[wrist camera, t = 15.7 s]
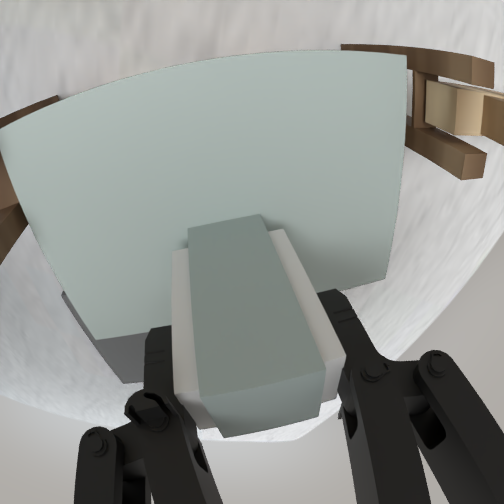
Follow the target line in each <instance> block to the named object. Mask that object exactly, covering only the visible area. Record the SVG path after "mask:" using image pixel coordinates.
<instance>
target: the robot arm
mask: <svg viewBox="0 0 504 504" xmlns="http://www.w3.org/2000/svg"><path fill="white" fill-rule="evenodd" d="M268 233H269V236H270V238H271V240H272V242H273V245H274V247H275V249H276V252H277V254H278V256H279V258H280V261H281V263H282V265H283V268H284V270H285V272H286V275H287V277H288V279H289V281H290V284H291V286H292V288H293V291H294V293H295V295H296V298H297V300H298V302H299V305H300V307H301V309H302V312H303V314H304V317H305V319H306V321H307V324H308V326H309V328H310V331H311V333H312V336H313V338H314V340H315V343H316V345H317V348H318V350H319V352H320V355H321V357H322V360H323V362H324V364H325V367H326V375H325V382H324V388H323V394H322V399H321V403H323V402H327V401H330V400H333V399H336V397H337V393H338V394H339V396H340V399H341V401H342V404H341V407H340V410H339V413H338V419H341V418H342V419H343V425H344V430H345V435H346V440H347V446H348V451H349V457H350V463H351V469H352V475H353V481H354V487H355V493H356V500H357V504H431V500H430V496H429V491H428V487H427V482H426V478H425V473H424V469H423V465H422V461H421V457H420V453H419V449H420V450H421V452H422V454H423V456H424V458H425V459H426V461H427V463H428V465H429V466H430V468H431V470H432V472H433V474H434V476H435V478H436V479H437V481H438V483H439V485H440V486H441V489H442V491H443V492H444V494H445V496H446V498H447V500H448V502H449V504H504V433H503V432H502V430H501V429H500V427H499V425H498V424H497V423H496V421H495V419H494V418H493V416H492V415H491V413H490V412H489V410H488V409H487V407H486V406H485V404H484V403H483V401H482V400H481V398H480V397H479V395H478V394H477V392H476V391H475V390H474V388H473V387H472V386H471V384H470V382H469V381H468V380H467V378H466V377H465V376H464V374H463V373H462V371H461V370H460V369H459V367H458V366H457V365H456V363H455V362H454V361H453V359H452V358H451V357H450V356H449V355H448V354H446V353H444V352H442V351H439V350H431V351H428V352H426V353H425V354H424V355H422V356H421V358H420V360H417V361H392V360H389V359H387V358H385V357H384V356H382V355H381V354H379V353H378V351H377V350H376V349H375V347H374V345H373V343H372V342H371V340H370V338H369V336H368V334H367V332H366V331H365V329H364V327H363V325H362V324H361V322H360V320H359V318H357V315H356V313H355V311H354V309H352V306H351V304H350V302H349V301H348V299H347V297H346V296H345V295H343V294H342V293H341V292H340V291H338V290H337V289H336V288H335V289H331V290H327V291H323V292H319V293H316V292H315V290H314V288H313V286H312V284H311V282H310V280H309V278H308V276H307V274H306V272H305V270H304V268H303V266H302V264H301V262H300V260H299V258H298V256H297V254H296V252H295V250H294V248H293V246H292V245H291V243H290V241H289V239H288V237H287V235H286V233H285V231H284V229H279V230H274V231H269V232H268ZM171 307H172V325H168V326H162V327H156V328H151V329H150V331H149V333H148V335H147V337H146V339H145V352H144V353H145V355H144V364H145V365H144V389H142V390H140V391H137V392H135V393H134V394H133V395H132V396H131V397H130V398H129V399H128V401H127V403H126V405H125V412H124V414H125V415H126V416H127V417H128V418H129V419H130V420H131V422H129V423H128V424H125V425H123V426H121V427H118V428H116V429H113V430H111V431H109V430H108V429H107V428H104V427H100V426H99V427H93V428H91V429H89V430H87V431H86V432H85V434H84V435H83V436H82V438H81V441H80V444H79V452H78V461H77V470H76V480H75V493H74V504H151V493H152V496H153V500H154V504H223V502H222V499H221V497H220V494H219V492H218V489H217V486H216V484H215V481H214V478H213V475H212V473H211V470H210V467H209V464H208V461H207V458H206V456H205V453H204V450H203V446H202V443H201V442H200V440H199V438H198V436H197V428H196V425H197V427H198V428H199V430H200V429H207V428H214V427H217V426H216V424H215V423H214V421H213V419H212V418H211V416H210V414H209V413H208V411H207V409H206V408H205V406H204V404H203V402H202V401H201V399H200V394H199V386H198V376H197V366H196V356H195V345H194V333H193V321H192V307H191V292H190V275H189V254H188V248H185V249H181V250H176V251H172V293H171ZM417 445H418V446H417ZM418 447H419V449H418Z"/></svg>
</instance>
